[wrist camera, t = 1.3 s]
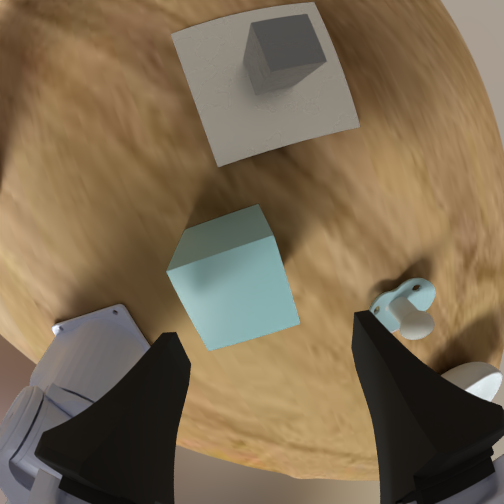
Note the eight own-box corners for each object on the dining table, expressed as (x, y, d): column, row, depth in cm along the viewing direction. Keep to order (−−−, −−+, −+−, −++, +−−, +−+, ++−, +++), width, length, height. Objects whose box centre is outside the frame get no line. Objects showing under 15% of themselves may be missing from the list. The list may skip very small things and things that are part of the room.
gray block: (218, 166, 18) (212, 180, 11) (172, 37, 14) (147, -8, 7) (355, 127, 17) (413, 126, 11) (310, 6, 13) (346, -40, 7)
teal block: (212, 293, 21) (208, 351, 15) (184, 229, 19) (166, 271, 13) (280, 271, 21) (300, 323, 15) (258, 203, 19) (273, 234, 13)
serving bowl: (351, 416, 30) (367, 456, 24) (474, 318, 27) (505, 348, 20) (394, 443, 38) (406, 469, 31) (482, 375, 34) (500, 397, 27)
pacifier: (423, 308, 25) (420, 263, 22) (456, 345, 19) (461, 298, 16) (364, 341, 25) (353, 299, 23) (390, 386, 20) (385, 346, 17)
